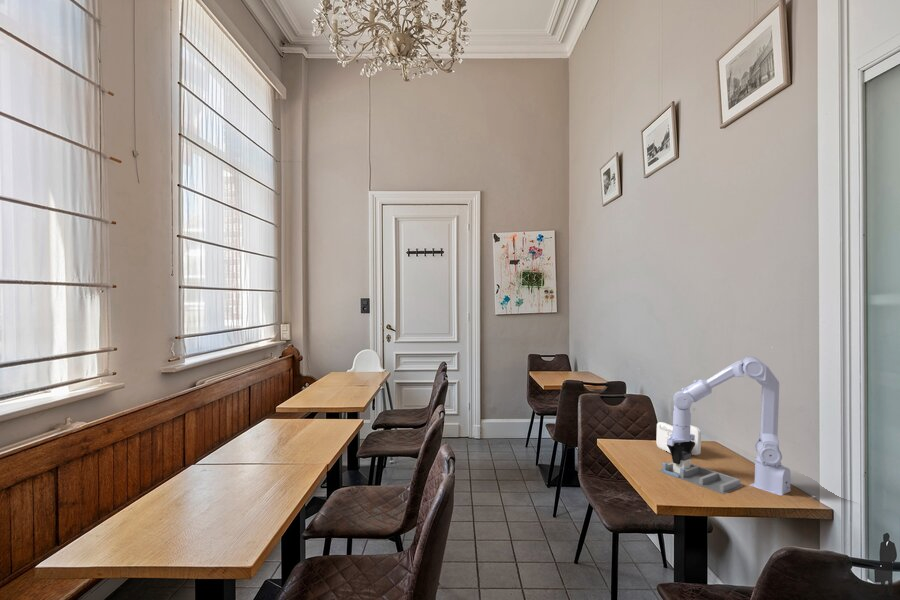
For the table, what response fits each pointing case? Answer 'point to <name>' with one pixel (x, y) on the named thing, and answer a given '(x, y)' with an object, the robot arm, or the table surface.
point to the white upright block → (682, 462)
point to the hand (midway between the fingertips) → (680, 462)
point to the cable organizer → (666, 430)
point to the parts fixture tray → (704, 478)
